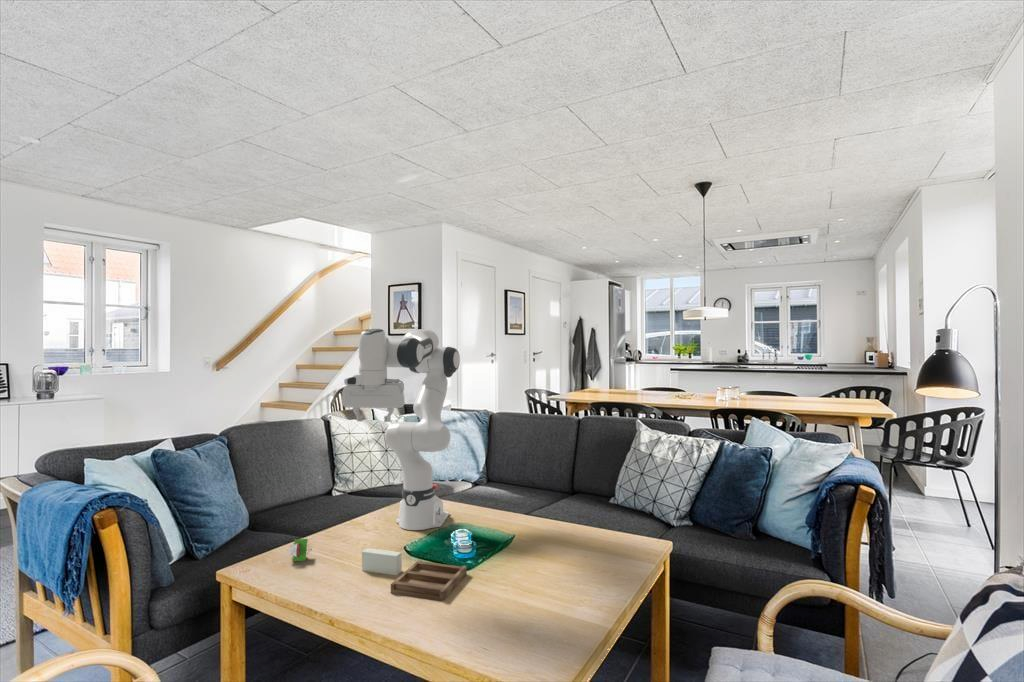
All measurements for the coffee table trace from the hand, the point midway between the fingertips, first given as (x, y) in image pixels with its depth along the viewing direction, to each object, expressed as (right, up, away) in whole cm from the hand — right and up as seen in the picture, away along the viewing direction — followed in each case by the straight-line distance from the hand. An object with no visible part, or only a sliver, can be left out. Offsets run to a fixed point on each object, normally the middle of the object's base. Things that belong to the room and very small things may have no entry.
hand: (373, 421), depth 177 cm
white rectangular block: (+5, -45, -9) cm, 46 cm away
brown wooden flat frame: (+21, -45, -18) cm, 52 cm away
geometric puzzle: (-24, -45, 0) cm, 51 cm away
